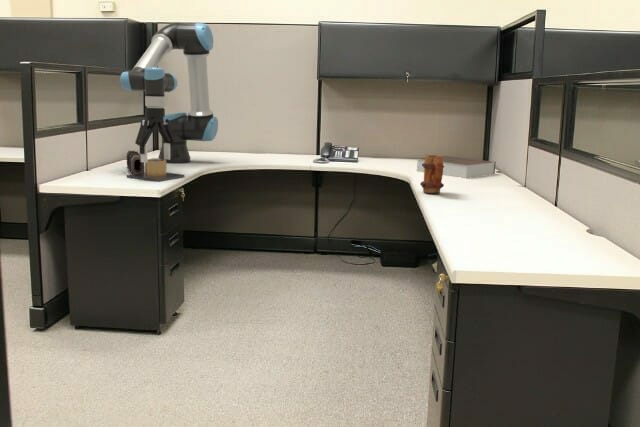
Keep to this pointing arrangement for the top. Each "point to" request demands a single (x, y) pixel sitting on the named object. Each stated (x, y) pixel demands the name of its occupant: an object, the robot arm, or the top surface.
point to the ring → (155, 168)
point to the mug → (432, 174)
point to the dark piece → (153, 178)
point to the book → (462, 167)
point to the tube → (135, 162)
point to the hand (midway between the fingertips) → (155, 160)
